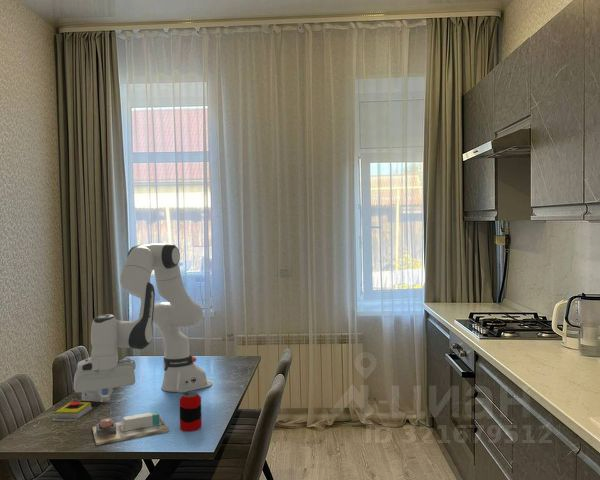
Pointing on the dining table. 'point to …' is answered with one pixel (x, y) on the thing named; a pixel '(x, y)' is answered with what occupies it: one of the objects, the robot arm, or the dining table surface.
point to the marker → (141, 420)
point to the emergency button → (72, 411)
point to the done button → (105, 423)
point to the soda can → (190, 412)
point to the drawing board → (125, 432)
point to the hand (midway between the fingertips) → (105, 401)
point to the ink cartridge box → (93, 395)
